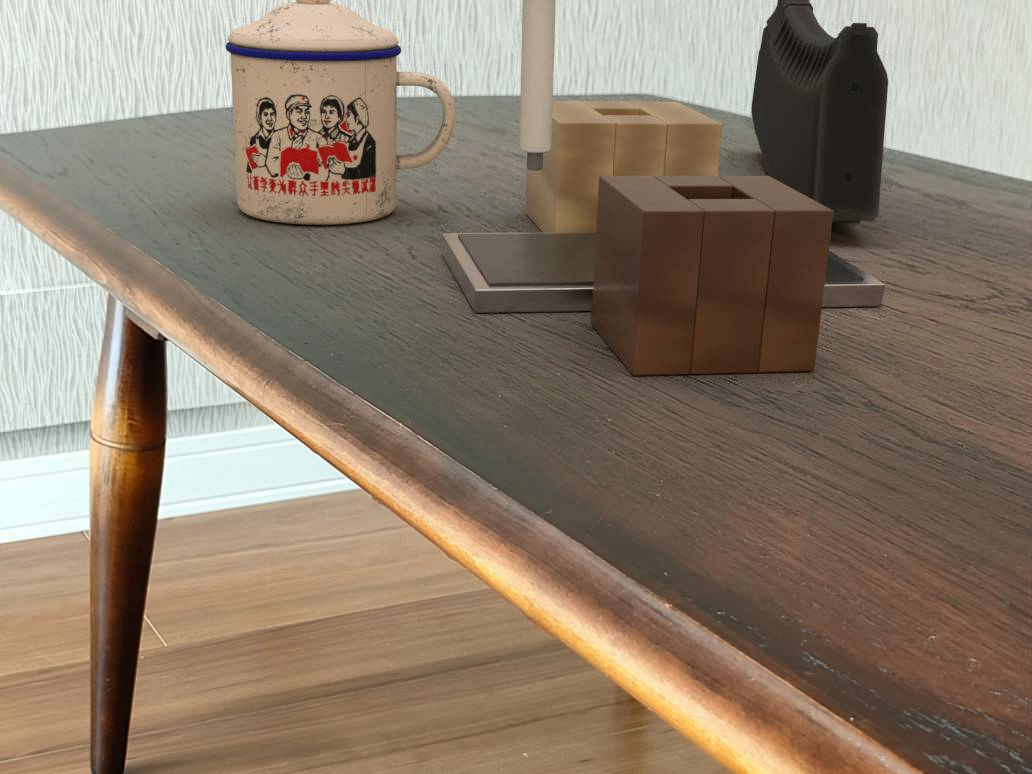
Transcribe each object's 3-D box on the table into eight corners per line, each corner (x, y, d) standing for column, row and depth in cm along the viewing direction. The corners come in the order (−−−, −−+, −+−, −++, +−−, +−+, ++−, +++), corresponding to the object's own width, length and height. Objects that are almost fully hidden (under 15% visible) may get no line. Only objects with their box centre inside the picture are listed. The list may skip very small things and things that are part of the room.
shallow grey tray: (794, 250, 73) (797, 228, 73) (882, 306, 63) (885, 281, 63) (441, 253, 70) (441, 230, 70) (474, 313, 60) (475, 287, 60)
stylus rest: (754, 321, 60) (769, 175, 58) (814, 371, 54) (834, 210, 52) (590, 324, 59) (598, 175, 57) (632, 376, 53) (644, 211, 50)
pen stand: (668, 212, 81) (677, 101, 79) (712, 244, 74) (722, 123, 71) (524, 213, 80) (528, 100, 77) (554, 246, 72) (559, 122, 70)
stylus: (547, 166, 65) (557, -184, 59) (553, 171, 63) (564, -186, 58) (516, 166, 64) (523, -185, 59) (521, 172, 63) (530, -187, 57)
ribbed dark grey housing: (910, 67, 68) (833, -126, 91) (840, 65, 68) (781, -127, 91) (847, 369, 79) (793, 131, 102) (788, 367, 80) (746, 129, 102)
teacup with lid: (224, 226, 75) (212, -16, 70) (241, 193, 83) (232, -26, 78) (456, 229, 75) (461, -9, 71) (451, 196, 84) (454, -20, 79)
